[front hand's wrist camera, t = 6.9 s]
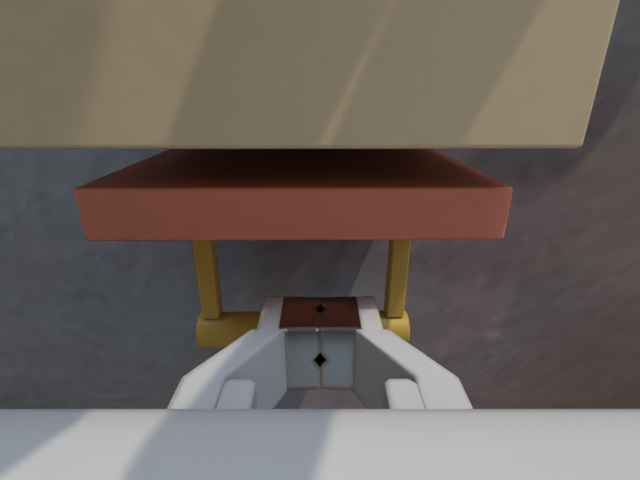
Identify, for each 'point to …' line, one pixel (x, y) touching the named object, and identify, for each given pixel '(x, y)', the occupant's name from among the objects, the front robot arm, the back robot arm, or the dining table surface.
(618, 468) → the front robot arm
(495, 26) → the cabinet
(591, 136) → the dining table surface
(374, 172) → the drawer
